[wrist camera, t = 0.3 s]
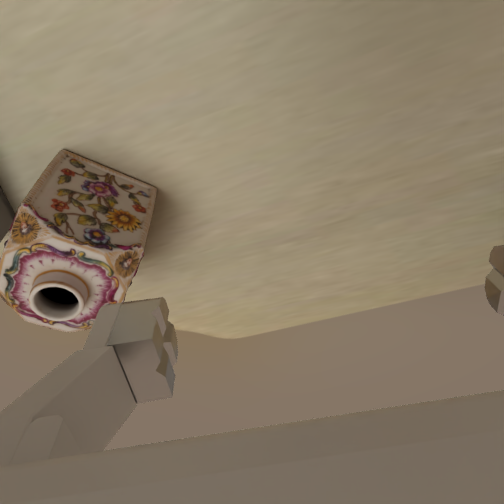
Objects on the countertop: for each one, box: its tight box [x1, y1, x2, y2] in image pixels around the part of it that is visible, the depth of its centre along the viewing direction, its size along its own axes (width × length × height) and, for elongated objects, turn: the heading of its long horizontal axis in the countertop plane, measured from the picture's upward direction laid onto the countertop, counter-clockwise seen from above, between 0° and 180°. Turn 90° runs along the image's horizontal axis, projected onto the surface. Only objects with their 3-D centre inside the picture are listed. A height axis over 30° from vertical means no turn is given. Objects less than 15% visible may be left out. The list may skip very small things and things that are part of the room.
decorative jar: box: [0, 150, 157, 332], centre depth 44 cm, size 12×12×18 cm
